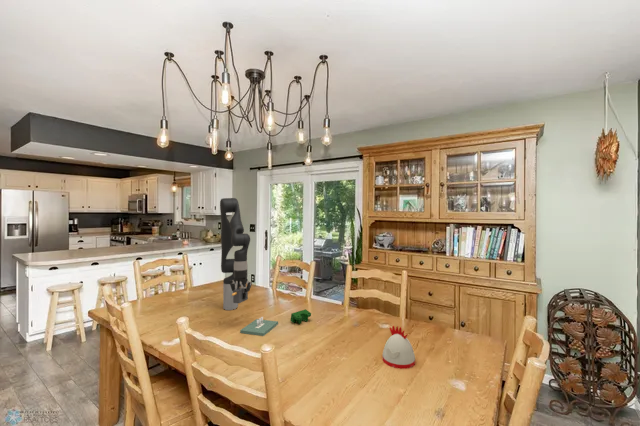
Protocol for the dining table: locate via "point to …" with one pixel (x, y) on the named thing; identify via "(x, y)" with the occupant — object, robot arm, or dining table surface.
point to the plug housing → (238, 295)
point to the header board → (259, 327)
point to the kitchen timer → (398, 350)
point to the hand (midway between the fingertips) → (240, 298)
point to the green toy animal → (300, 316)
